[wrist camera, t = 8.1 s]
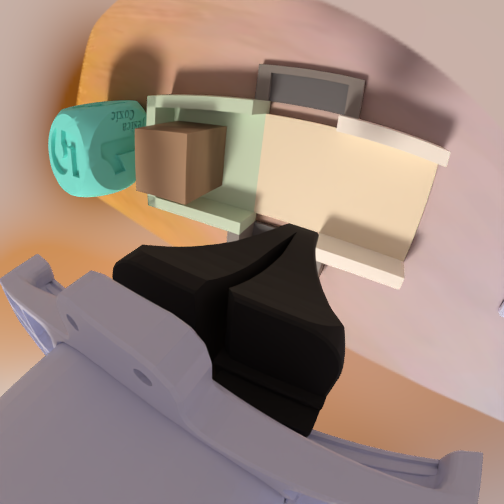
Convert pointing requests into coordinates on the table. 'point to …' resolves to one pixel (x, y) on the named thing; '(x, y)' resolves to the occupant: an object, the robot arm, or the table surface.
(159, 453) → the robot arm
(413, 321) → the table surface
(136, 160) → the walnut cube
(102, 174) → the decorative dice
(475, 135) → the table surface
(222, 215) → the tray
